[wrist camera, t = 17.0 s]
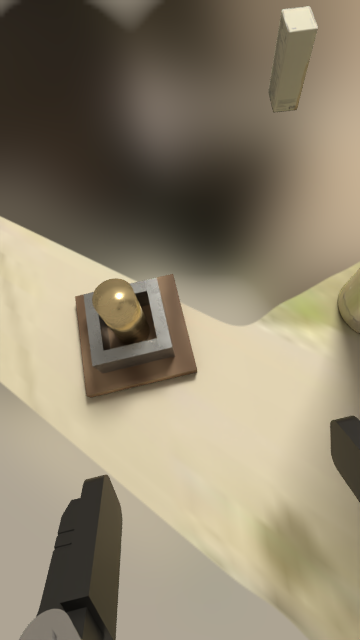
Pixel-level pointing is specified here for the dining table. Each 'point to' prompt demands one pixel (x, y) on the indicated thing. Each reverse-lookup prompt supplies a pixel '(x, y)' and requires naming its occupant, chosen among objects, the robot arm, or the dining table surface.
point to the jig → (139, 358)
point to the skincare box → (291, 57)
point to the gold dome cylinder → (121, 311)
